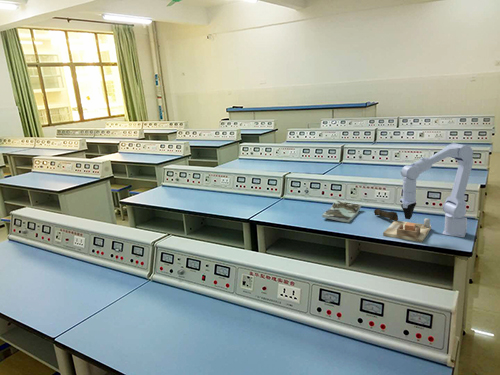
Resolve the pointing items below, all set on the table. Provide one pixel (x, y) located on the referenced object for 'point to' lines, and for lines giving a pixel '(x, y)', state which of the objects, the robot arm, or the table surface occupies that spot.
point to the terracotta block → (410, 226)
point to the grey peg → (427, 222)
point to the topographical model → (342, 211)
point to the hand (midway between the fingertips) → (408, 218)
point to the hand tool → (386, 214)
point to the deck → (406, 231)
